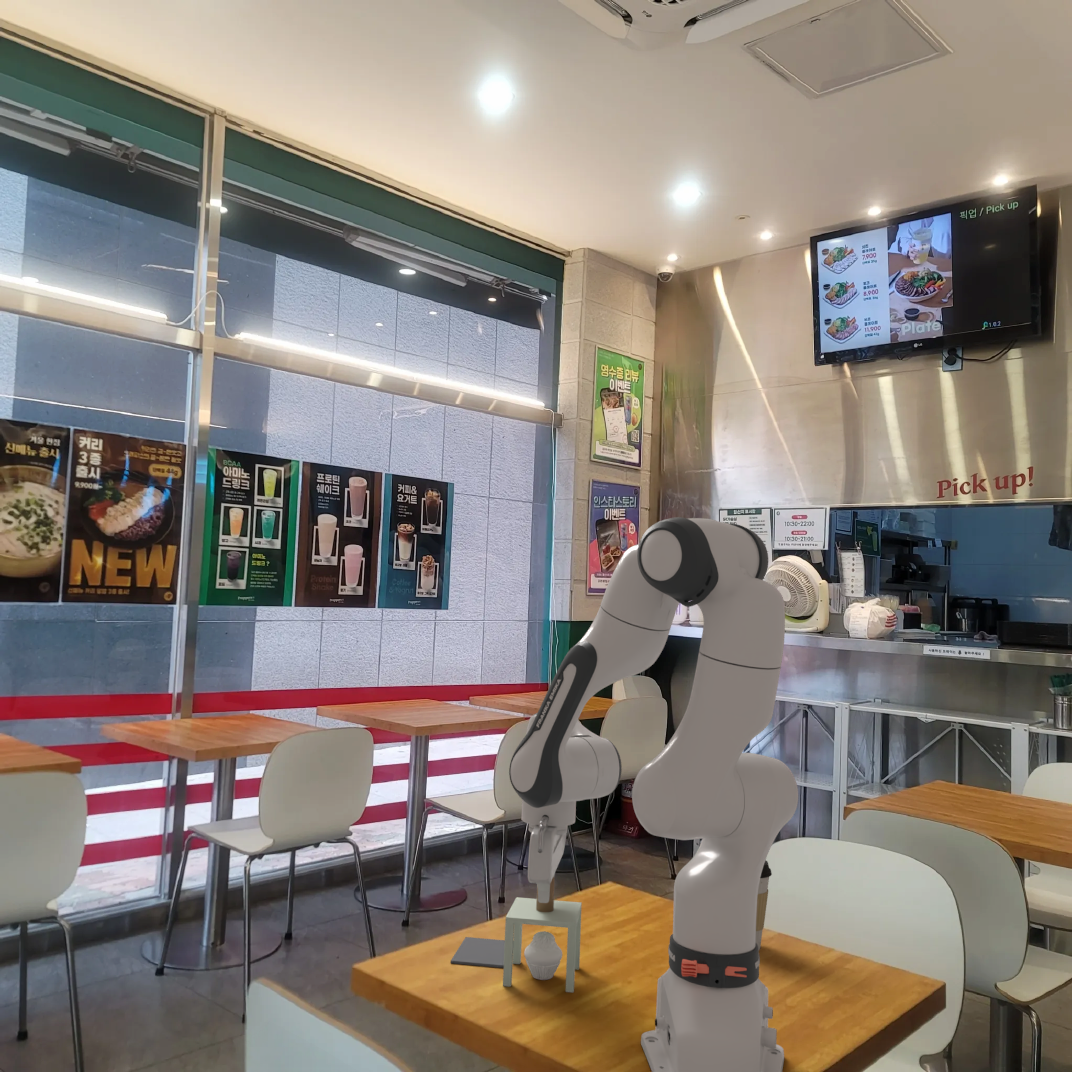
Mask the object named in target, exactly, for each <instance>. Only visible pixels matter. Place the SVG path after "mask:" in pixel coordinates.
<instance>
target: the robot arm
mask: <svg viewBox="0 0 1072 1072" xmlns="http://www.w3.org/2000/svg"><path fill="white" fill-rule="evenodd" d="M768 569H769V553H768V549H767V547H766V545H765V543H764V541H763V539H761V537H760V536H759V535H758V534H757V533H755V532H754V531H753V530H751V529H749V528H748V527H746V526H743V525H741V524H737V523H726V522H722V521H718V520H715V519H713V518H712V519H711V518H703V517H697V518H696V517H691V518H690V517H689V518H685V517H681V516H678V517H677V516H676V517H671V518H670V517H669V518H667V519H663V520H660V521H657V522H655V523H654V524H652V525H651V526H650V527H648V529H646V530H645V532H643V534H642V537H641V538H640V540H639V544H638V543H637V544H635V545H633V546H630V547H629V548H627V549H626V550H625V551H624V552H623V554H622V556H621V558H620V559H619V561H618V563H617V564H616V566H615V569H614V570H613V573H612V575H611V577H610V578H609V581H608V583H607V585H606V588H605V591H604V594H603V595H602V599H601V602H600V606H599V609H598V611H597V614H596V615H595V617H594V619H593V621H592V623H591V625H589V626H590V627H589V628H588V630H587V631H586V632H585V633H584V635H583V636H582V638H581V639H580V640H579V641H578V642H577V643H576V644H575V645H573V646H572V647H571V648H570V649H569V650H568V652H567V653H566V655H565V656H564V658H563V660H562V661H561V662H560V665H559V667H558V668H557V671H556V673H555V675H554V676H553V679H552V681H551V683H550V685H549V688H548V690H547V692H546V694H545V696H544V698H543V701H542V703H541V704H540V707H539V708H538V710H537V711H538V712H536V713H534V714H532V715H531V716H530V718H529V720H528V723H527V727H526V733H525V736H524V737H523V738H522V740H521V741H520V743H519V744H518V745H517V746H516V748H515V750H514V752H513V755H512V757H511V759H510V764H509V768H508V769H509V772H508V773H509V775H508V776H509V780H510V781H509V782H510V784H511V786H512V788H513V790H514V791H515V793H516V794H517V795H518V796H519V798H520V799H521V800H522V801H521V817H520V818H521V821H522V822H523V823H525V824H528V831H529V833H530V838H529V839H530V840H529V848H528V861H527V880H528V883H531V884H536V888H537V887H538V902H540V903H548V902H549V899H550V883H551V881H552V878H553V877H554V878H555V874H556V871H557V868H558V867H559V864H560V862H561V860H562V857H563V856H564V851H565V846H566V840H567V833H568V826H571V825H573V824H575V823H576V811H577V809H576V807H577V802H580V801H585V800H593V799H600V798H603V797H606V796H609V795H611V794H612V793H613V792H614V791H615V790H616V788H618V785H619V784H620V780H621V776H622V769H623V768H622V759H621V756H620V753H619V751H618V749H617V747H616V745H614V744H613V742H612V741H611V740H609V738H606V737H601V736H599V735H597V734H596V733H594V732H592V731H591V730H589V729H588V728H587V727H585V726H584V725H583V724H582V723H581V722H580V721H579V718H580V716H581V713H582V712H583V710H584V708H585V706H586V705H587V703H588V701H590V699H591V698H592V697H593V696H595V695H596V694H597V693H598V692H600V691H601V690H603V689H604V688H607V687H608V686H610V685H612V684H614V683H616V682H619V681H622V680H624V679H628V678H630V677H633V676H637V675H638V674H641V673H643V672H644V671H646V670H648V669H649V668H650V667H652V665H654V664H655V662H657V660H658V658H659V657H660V655H661V653H662V651H663V650H664V648H665V645H666V644H667V643H666V642H667V641H668V637H669V634H670V632H671V628H672V625H673V622H674V618H675V616H676V613H677V610H678V608H679V605H683V606H684V607H687V608H690V607H693V606H696V605H697V606H698V608H699V609H700V611H701V614H702V616H703V617H702V619H703V623H702V624H703V626H702V635H701V640H700V643H699V645H700V646H699V649H698V656H697V661H696V666H695V667H696V668H695V673H694V676H693V677H694V678H693V682H692V688H691V692H690V696H689V700H688V704H687V706H686V710H685V712H684V714H683V717H682V719H681V721H680V722H679V724H678V727H677V728H676V730H675V732H674V734H673V735H672V737H671V738H670V739H669V741H668V742H667V744H666V745H665V746H664V747H663V749H662V750H661V751H660V752H659V753H658V754H657V755H656V756H655V757H653V758H652V759H651V760H650V761H649V762H647V763H646V764H644V765H643V766H642V767H641V769H640V770H639V771H638V773H637V774H636V777H635V779H634V782H633V785H632V791H631V798H632V799H631V800H632V806H633V810H634V813H635V816H636V818H637V820H638V822H639V824H640V825H641V826H642V827H643V828H644V830H645V831H646V832H647V833H648V834H650V835H652V836H656V837H661V838H666V839H671V840H672V839H673V840H680V841H690V840H699V839H701V841H700V844H699V847H698V849H697V851H696V852H695V854H694V855H693V857H692V858H691V859H690V860H689V862H687V863H686V864H685V865H683V866H682V868H681V869H680V870H679V871H678V873H677V875H676V877H675V881H674V884H673V911H672V912H673V913H672V914H673V916H672V918H673V920H672V922H673V923H672V934H670V937H669V943H668V947H667V948H668V965H669V966H668V969H667V970H666V971H665V972H664V973H663V974H662V975H661V976H660V977H659V978H658V979H657V987H656V988H657V989H656V991H657V992H656V1009H655V1010H656V1011H655V1013H656V1014H655V1019H654V1026H655V1029H653V1030H649V1031H645V1032H643V1033H642V1034H641V1037H640V1038H641V1039H640V1044H641V1047H642V1049H643V1052H644V1055H645V1057H646V1059H647V1062H648V1063H647V1064H648V1066H649V1068H650V1070H651V1072H783V1069H784V1068H783V1067H784V1061H785V1050H784V1048H783V1047H782V1045H779V1044H777V1038H778V1037H777V1028H774V1027H769V1020H770V1019H771V1020H773V1017H774V1008H773V1007H772V1006H769V988H768V987H767V986H766V985H765V984H764V983H763V982H762V981H761V980H760V979H759V977H760V964H761V962H760V953H759V951H760V950H758V944H757V943H756V912H757V895H758V887H759V881H760V877H761V873H762V869H763V866H764V863H765V860H766V861H767V858H768V855H769V852H770V850H771V848H772V846H773V843H774V841H775V840H776V838H777V836H778V834H779V832H781V830H782V829H783V828H784V826H786V824H787V823H789V822H790V821H791V820H792V818H793V817H794V815H795V813H796V811H797V808H798V803H799V789H798V788H799V787H798V784H797V781H796V779H795V776H794V774H793V772H792V770H791V769H790V768H789V766H788V765H787V764H786V763H784V762H783V761H782V760H780V759H778V758H777V757H776V758H775V757H772V756H767V755H763V754H759V753H754V752H744V751H745V749H746V747H747V746H748V745H749V744H750V743H751V741H752V740H753V739H754V738H755V737H757V736H758V735H759V734H761V733H762V732H764V730H765V729H767V727H768V726H769V725H770V722H771V721H772V719H773V716H774V708H775V703H776V697H777V691H778V686H779V681H780V679H779V678H780V675H781V668H782V663H783V656H784V646H785V633H786V632H785V631H786V610H785V600H784V596H783V595H782V593H781V591H779V589H778V588H776V587H775V586H774V585H773V584H771V583H770V582H768V581H765V580H764V579H765V576H766V575H767V572H768Z"/></svg>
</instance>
